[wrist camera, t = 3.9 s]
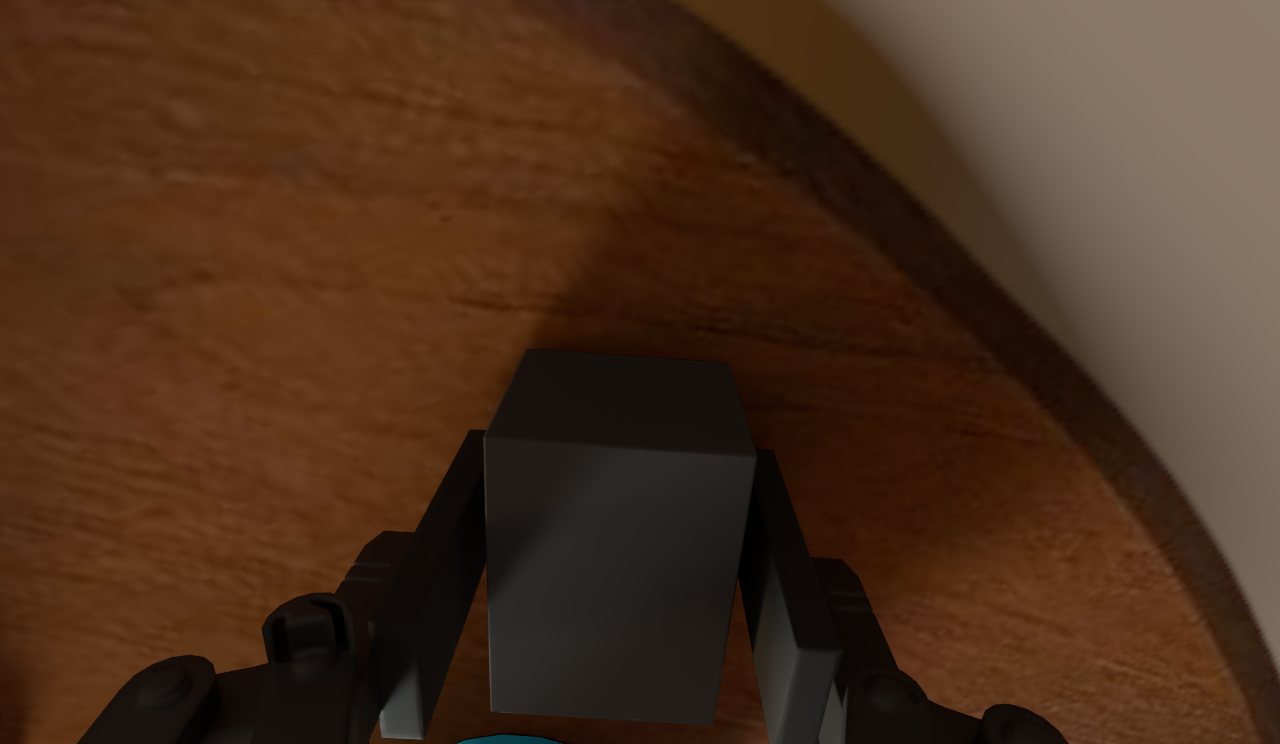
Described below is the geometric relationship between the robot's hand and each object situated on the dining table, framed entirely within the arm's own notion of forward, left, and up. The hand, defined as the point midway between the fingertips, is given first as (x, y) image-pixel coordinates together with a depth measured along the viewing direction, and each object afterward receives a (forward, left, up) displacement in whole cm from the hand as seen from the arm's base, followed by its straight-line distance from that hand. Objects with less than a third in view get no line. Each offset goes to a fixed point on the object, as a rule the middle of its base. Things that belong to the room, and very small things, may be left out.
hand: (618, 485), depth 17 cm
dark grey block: (0, 0, 0) cm, 0 cm away
